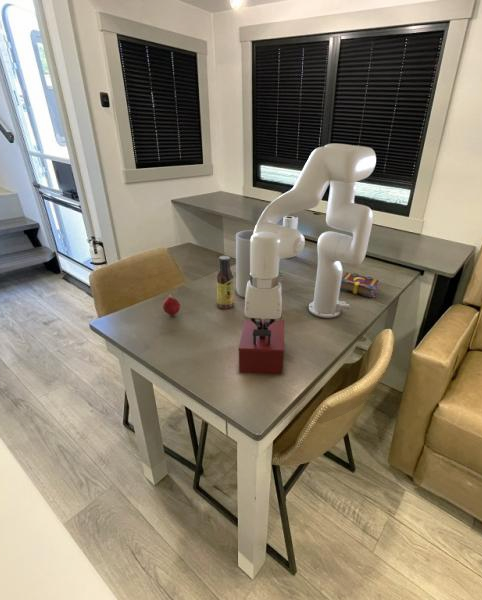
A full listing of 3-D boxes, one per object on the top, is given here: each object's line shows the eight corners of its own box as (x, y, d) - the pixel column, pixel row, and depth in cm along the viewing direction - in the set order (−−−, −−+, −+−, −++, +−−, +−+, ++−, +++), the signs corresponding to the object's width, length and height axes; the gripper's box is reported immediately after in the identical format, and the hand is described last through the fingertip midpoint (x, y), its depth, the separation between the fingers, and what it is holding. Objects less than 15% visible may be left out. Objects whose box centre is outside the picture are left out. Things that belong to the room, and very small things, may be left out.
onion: (184, 313, 122) (182, 294, 118) (174, 320, 117) (172, 301, 114) (170, 309, 124) (168, 290, 120) (160, 317, 119) (158, 297, 115)
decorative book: (345, 280, 156) (347, 270, 154) (379, 288, 151) (381, 279, 148) (338, 289, 147) (339, 279, 145) (373, 299, 142) (376, 288, 139)
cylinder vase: (241, 301, 133) (241, 241, 121) (233, 287, 143) (232, 231, 130) (270, 296, 137) (272, 239, 125) (260, 283, 147) (261, 229, 135)
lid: (283, 352, 92) (285, 336, 89) (238, 350, 91) (238, 334, 88) (283, 321, 105) (284, 306, 102) (244, 320, 105) (244, 304, 102)
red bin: (282, 374, 97) (283, 350, 92) (239, 372, 96) (238, 348, 92) (282, 344, 109) (283, 322, 105) (244, 342, 109) (244, 320, 105)
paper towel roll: (280, 257, 176) (282, 217, 166) (282, 253, 181) (284, 215, 171) (293, 259, 175) (296, 219, 165) (295, 255, 180) (298, 216, 170)
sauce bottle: (230, 310, 126) (229, 262, 116) (215, 307, 127) (212, 259, 117) (236, 302, 132) (235, 255, 122) (221, 300, 132) (219, 253, 123)
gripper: (292, 275, 90) (287, 330, 99) (237, 272, 90) (238, 327, 99) (292, 287, 84) (288, 345, 93) (233, 284, 83) (234, 342, 92)
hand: (262, 336), depth 96 cm, fingers closed
